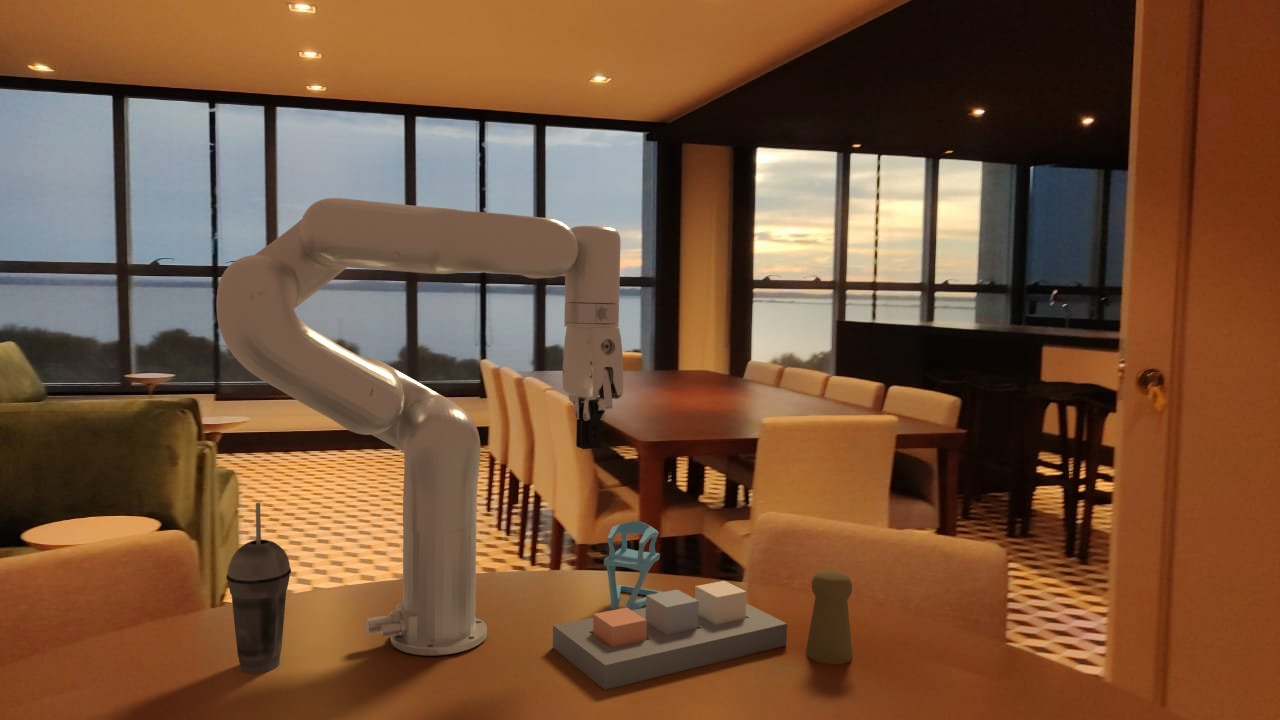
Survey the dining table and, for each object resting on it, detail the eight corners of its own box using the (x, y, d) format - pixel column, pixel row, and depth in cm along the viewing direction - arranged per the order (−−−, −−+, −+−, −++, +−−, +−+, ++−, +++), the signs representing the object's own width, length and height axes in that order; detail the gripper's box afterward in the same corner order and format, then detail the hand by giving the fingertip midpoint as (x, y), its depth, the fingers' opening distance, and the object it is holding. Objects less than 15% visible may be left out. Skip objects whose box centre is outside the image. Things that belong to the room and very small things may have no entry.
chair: (596, 607, 131) (597, 528, 130) (619, 589, 138) (620, 515, 137) (644, 615, 128) (645, 535, 127) (664, 597, 135) (666, 521, 134)
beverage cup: (228, 682, 103) (226, 515, 101) (225, 659, 109) (224, 501, 108) (294, 671, 106) (294, 509, 104) (288, 649, 112) (287, 496, 111)
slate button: (665, 637, 113) (666, 607, 113) (645, 624, 117) (646, 595, 117) (697, 630, 115) (698, 600, 115) (676, 618, 120) (677, 589, 119)
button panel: (604, 689, 103) (605, 665, 103) (552, 647, 115) (553, 625, 115) (786, 645, 118) (787, 623, 118) (723, 611, 130) (724, 592, 129)
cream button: (716, 626, 117) (716, 597, 117) (694, 614, 121) (695, 586, 121) (745, 619, 120) (746, 591, 119) (723, 608, 124) (724, 580, 124)
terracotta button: (611, 658, 109) (612, 626, 108) (592, 644, 113) (593, 613, 113) (646, 650, 111) (646, 619, 111) (626, 637, 116) (626, 607, 115)
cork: (853, 666, 112) (857, 582, 111) (805, 661, 113) (808, 578, 112) (851, 648, 118) (855, 567, 117) (805, 643, 119) (809, 564, 118)
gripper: (643, 318, 117) (639, 454, 118) (590, 314, 129) (587, 437, 131) (593, 318, 113) (590, 458, 114) (543, 314, 125) (541, 441, 127)
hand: (588, 447), depth 122 cm, fingers closed
